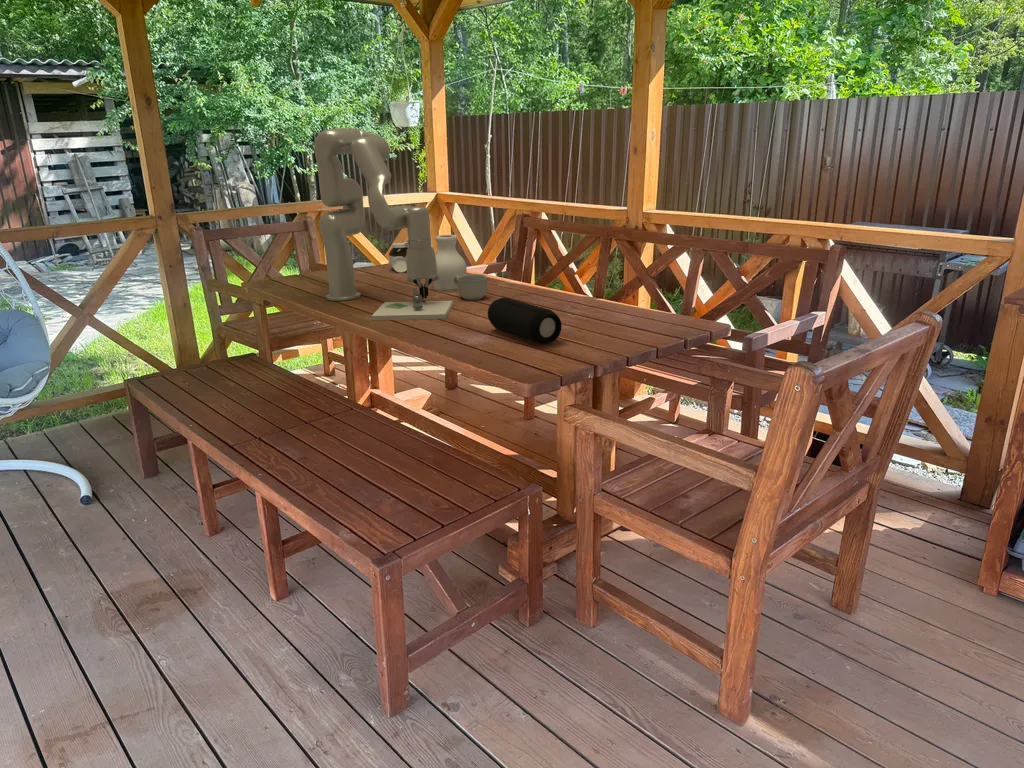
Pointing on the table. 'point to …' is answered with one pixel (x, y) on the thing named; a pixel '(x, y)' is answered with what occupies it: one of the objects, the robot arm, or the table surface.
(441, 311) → the dial board
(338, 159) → the robot arm
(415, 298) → the grey rectangular bar
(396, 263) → the spread jar
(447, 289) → the vase
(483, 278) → the teacup
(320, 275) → the table surface
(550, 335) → the portable speaker
